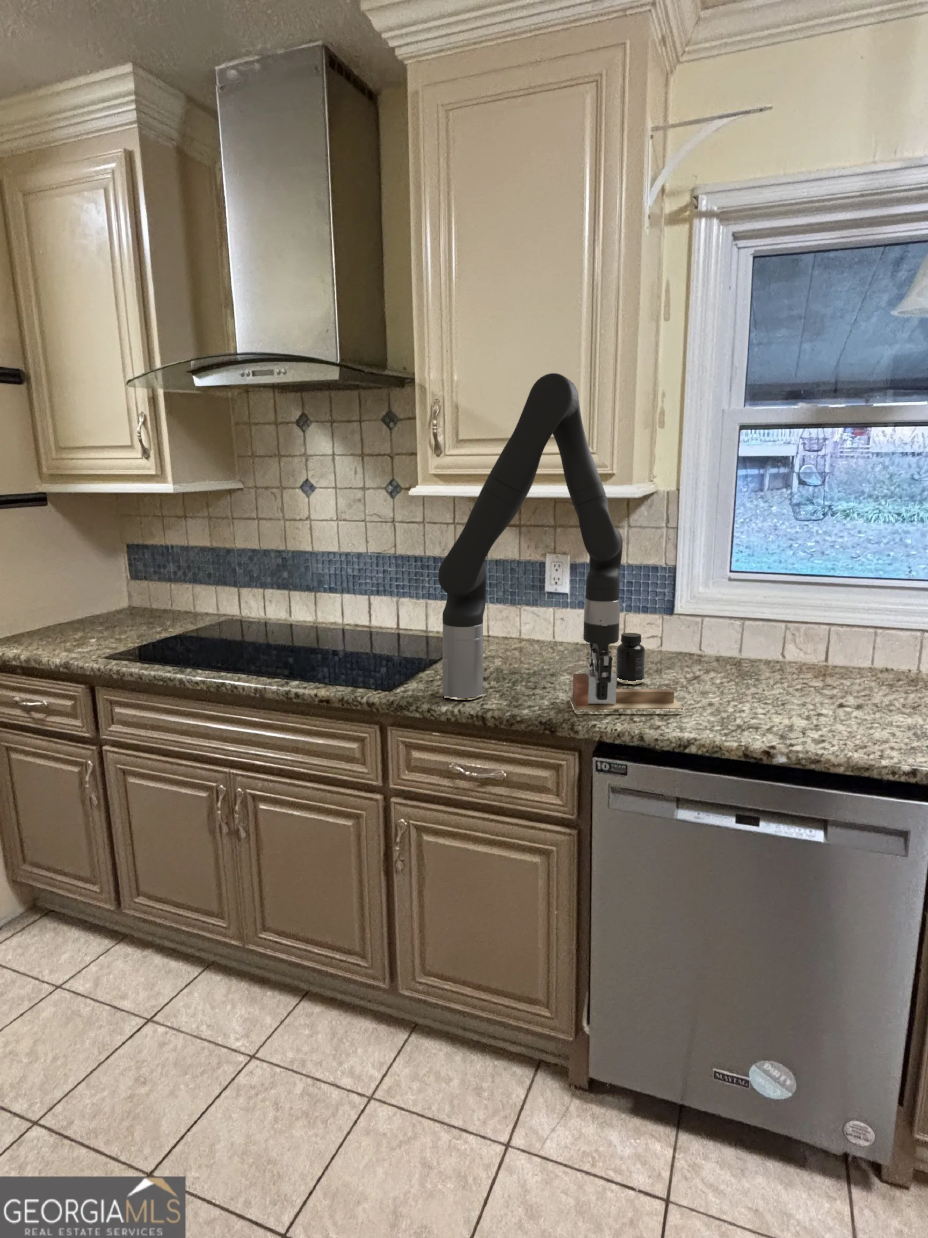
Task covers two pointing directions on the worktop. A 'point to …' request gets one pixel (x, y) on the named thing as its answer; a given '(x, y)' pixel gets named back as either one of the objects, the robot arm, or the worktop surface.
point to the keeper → (593, 688)
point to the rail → (628, 706)
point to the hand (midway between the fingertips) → (599, 694)
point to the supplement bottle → (630, 658)
